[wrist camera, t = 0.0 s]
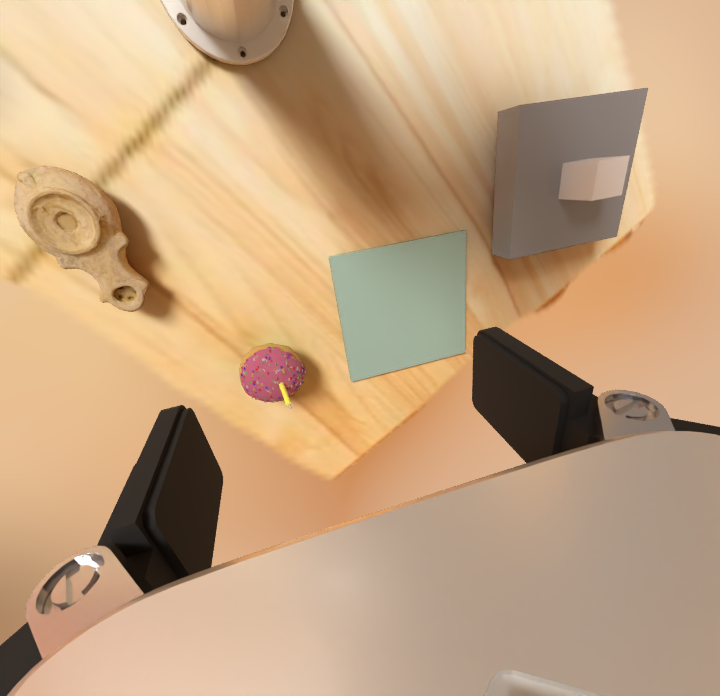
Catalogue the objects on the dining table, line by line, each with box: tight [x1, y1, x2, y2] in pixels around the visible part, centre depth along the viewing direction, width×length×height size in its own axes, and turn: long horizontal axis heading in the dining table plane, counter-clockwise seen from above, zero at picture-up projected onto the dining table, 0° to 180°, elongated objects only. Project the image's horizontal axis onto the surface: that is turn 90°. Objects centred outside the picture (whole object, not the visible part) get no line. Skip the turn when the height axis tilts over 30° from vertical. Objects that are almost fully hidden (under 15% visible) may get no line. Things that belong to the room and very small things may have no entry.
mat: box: [329, 230, 466, 382], centre depth 51 cm, size 20×20×1 cm
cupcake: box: [239, 343, 306, 409], centre depth 44 cm, size 9×8×12 cm
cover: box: [492, 88, 648, 260], centre depth 41 cm, size 17×17×9 cm
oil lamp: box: [14, 166, 149, 312], centre depth 36 cm, size 11×14×5 cm
